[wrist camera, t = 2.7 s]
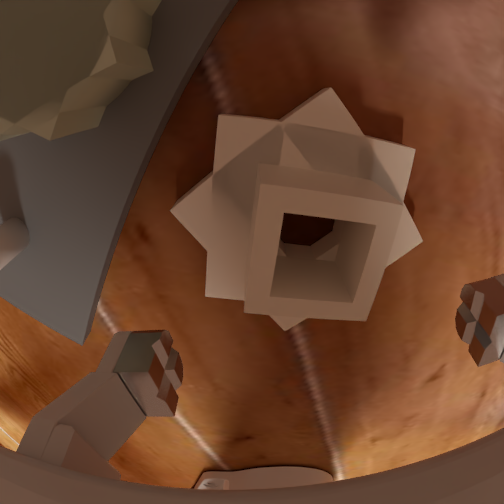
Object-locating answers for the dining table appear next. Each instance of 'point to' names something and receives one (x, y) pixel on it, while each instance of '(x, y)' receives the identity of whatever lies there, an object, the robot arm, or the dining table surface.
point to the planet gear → (301, 212)
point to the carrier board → (83, 136)
